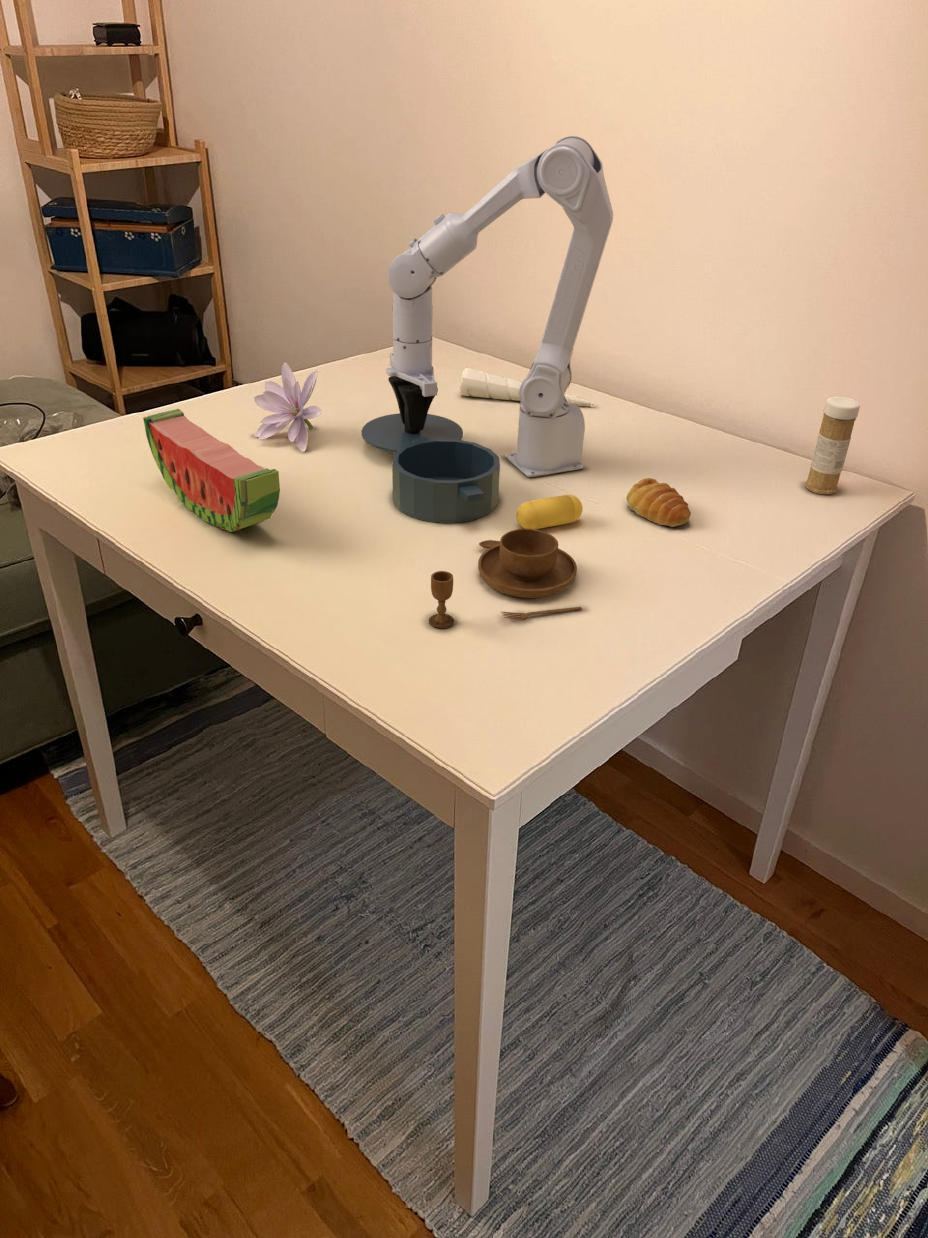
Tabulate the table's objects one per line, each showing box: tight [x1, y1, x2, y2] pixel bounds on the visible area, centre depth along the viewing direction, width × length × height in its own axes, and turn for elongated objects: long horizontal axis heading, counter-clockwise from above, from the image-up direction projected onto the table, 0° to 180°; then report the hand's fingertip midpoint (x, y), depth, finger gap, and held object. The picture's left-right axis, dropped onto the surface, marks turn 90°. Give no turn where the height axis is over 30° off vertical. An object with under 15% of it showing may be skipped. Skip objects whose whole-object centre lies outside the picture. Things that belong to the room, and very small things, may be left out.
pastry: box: [625, 477, 692, 528], centre depth 127 cm, size 9×7×4 cm
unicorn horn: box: [459, 367, 595, 407], centre depth 162 cm, size 5×24×5 cm, turn 75°
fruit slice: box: [142, 408, 281, 533], centre depth 123 cm, size 26×6×10 cm, turn 41°
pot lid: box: [361, 408, 464, 454], centre depth 142 cm, size 16×16×5 cm
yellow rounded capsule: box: [516, 494, 584, 530], centre depth 124 cm, size 9×4×4 cm, turn 114°
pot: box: [391, 437, 501, 524], centre depth 129 cm, size 15×20×6 cm
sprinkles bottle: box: [805, 395, 861, 495], centre depth 133 cm, size 5×5×14 cm
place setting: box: [428, 528, 583, 629], centre depth 110 cm, size 18×20×6 cm
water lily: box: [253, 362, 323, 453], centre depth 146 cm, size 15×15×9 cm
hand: (412, 426), depth 143 cm, fingers closed on pot lid, 2 cm apart
